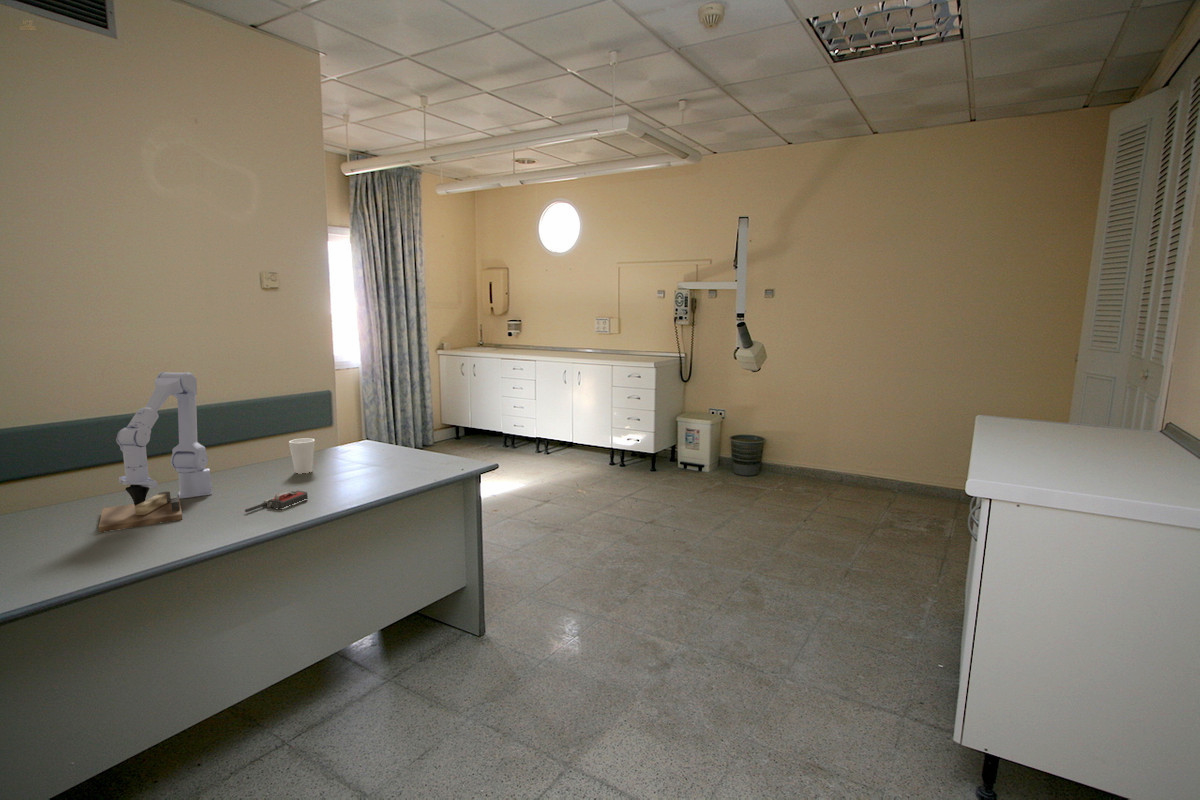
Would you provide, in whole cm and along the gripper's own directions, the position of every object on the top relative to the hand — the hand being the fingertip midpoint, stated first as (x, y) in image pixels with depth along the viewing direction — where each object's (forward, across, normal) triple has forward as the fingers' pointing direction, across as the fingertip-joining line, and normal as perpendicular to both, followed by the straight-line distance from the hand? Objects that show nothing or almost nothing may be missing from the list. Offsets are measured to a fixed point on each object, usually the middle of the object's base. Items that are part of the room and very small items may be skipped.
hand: (140, 507), depth 186 cm
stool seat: (+3, 0, 0) cm, 3 cm away
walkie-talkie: (+4, +30, +24) cm, 39 cm away
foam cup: (+3, +4, +60) cm, 60 cm away
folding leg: (+1, +1, +4) cm, 4 cm away
